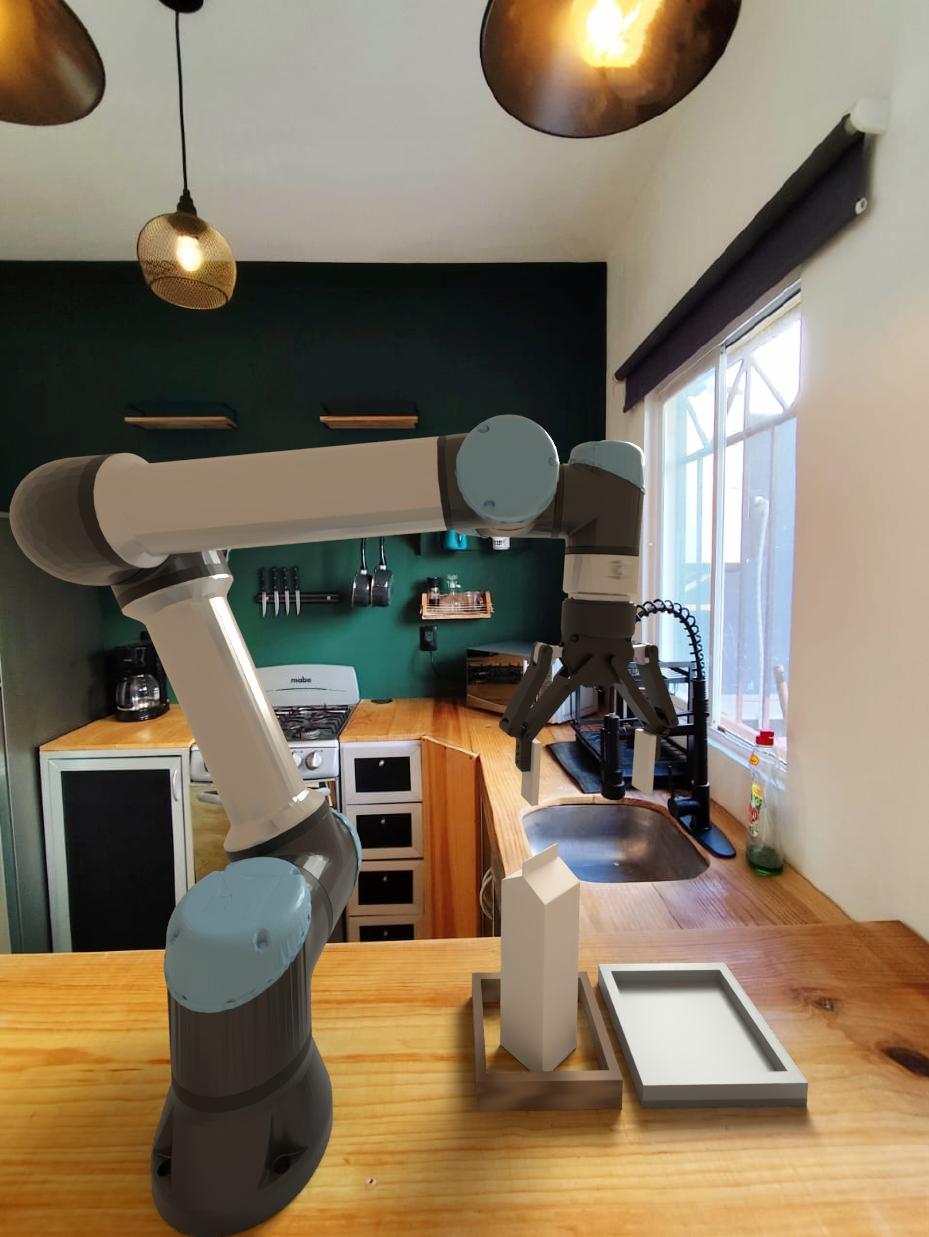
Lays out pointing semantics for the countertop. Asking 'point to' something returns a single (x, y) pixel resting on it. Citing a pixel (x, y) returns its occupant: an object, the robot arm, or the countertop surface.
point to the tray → (696, 1038)
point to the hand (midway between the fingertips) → (587, 795)
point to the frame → (545, 1085)
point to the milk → (539, 961)
